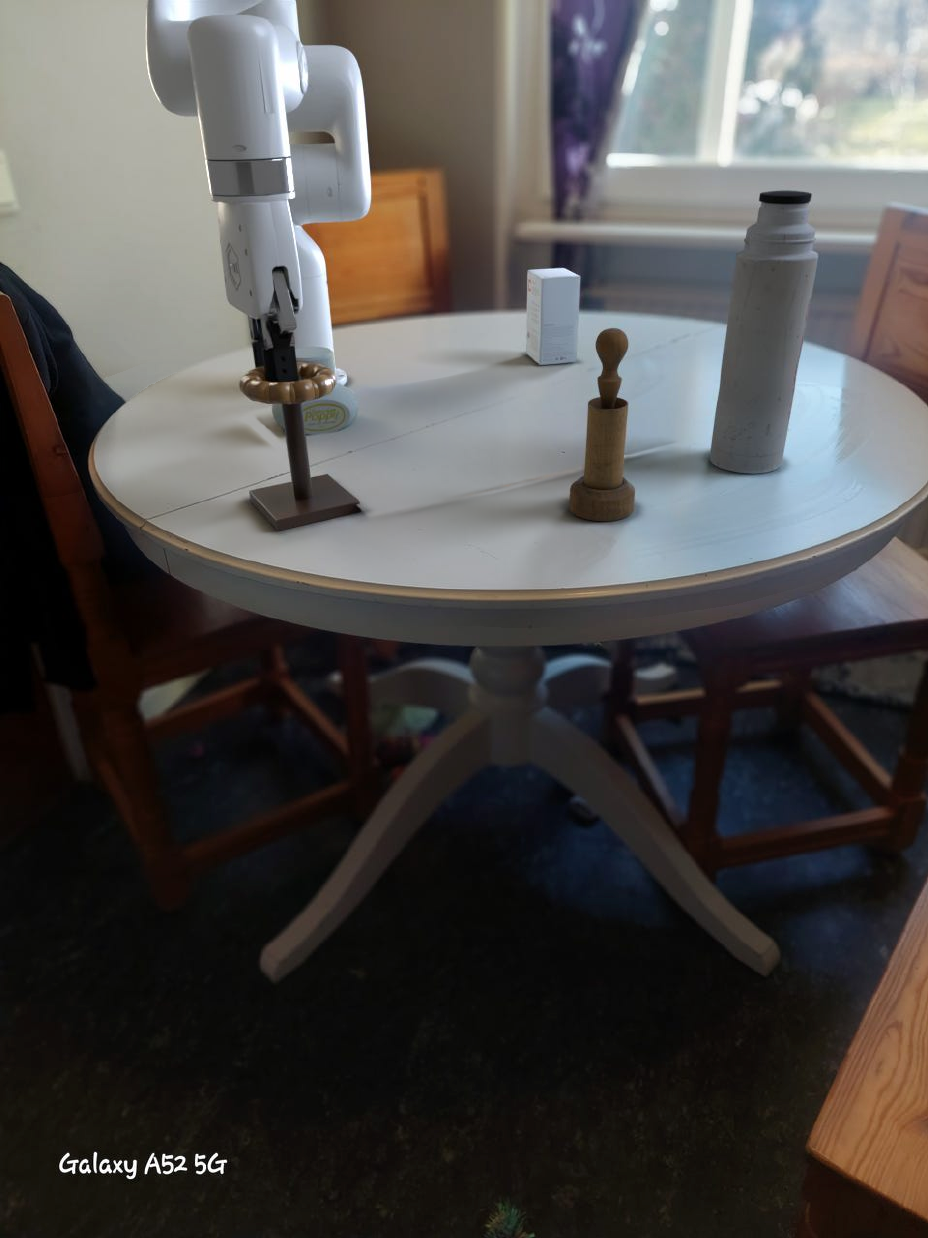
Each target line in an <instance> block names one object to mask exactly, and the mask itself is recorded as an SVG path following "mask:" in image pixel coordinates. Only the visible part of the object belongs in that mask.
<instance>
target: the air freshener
mask: <svg viewBox="0 0 928 1238" xmlns="http://www.w3.org/2000/svg"><path fill="white" fill-rule="evenodd" d="M295 353H296V362H309V363H315V364H322V365H324V366H326V367H327V368H329V369H331V370H332V371H333V372H334V373H335V368H336V362H335V363H334V358H335V353H334V354H333V352H332V351H331V350H330V349H328V348H323V347H305V348H298V349H295ZM335 374H336V373H335ZM302 408H303V416H304V425H305V433H306V436H317V435H323V434H331V433H336V432H339V431H342V430H344V429H346V428H348V427H349V426H350V425H352V423H353V422H354V421H355V420H356V418H357V416H358V413H359V410H360V404H359V400H358V398H357V396H356V395H355V393H354V392H353V391H352V390H351V389H350V388H349V387H347V386H346V385H345V384H344V385H342V384H340V383H338V382H336V385H335V387H334V389H333V391H332V392H331V393H330V394H328V395H326V396H323V397H321V398H319V399H316V400H313V401H308V402H302ZM271 414H272V416H273V419H274V420H275V422H276V424H277V425H279V426H280V428H282V429H283V430H285V427H284V420H283V412H282V405H281V404H271Z"/></svg>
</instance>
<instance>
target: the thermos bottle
mask: <svg viewBox="0 0 928 1238" xmlns="http://www.w3.org/2000/svg"><path fill="white" fill-rule="evenodd" d="M812 196H813V194H812V193H811V192H808V191H802V190H801V191H800V190H790V189H789V190H785V189H784V190H781V189H780V190H769V191H763V192H759V197H758V201H759V202H760V206H759V207H758V212H757V218H756V222H755V223H753V224H752V225H750V226H749V227H747V229H746V233H745V238H743V242H744V247H743V248H742V249H740V250H738V251H737V252H736V253H735V256H736V257H735V261H734V269H733V277H732V284H731V293H730V300H729V307H728V314H727V323H726V329H725V338H724V346H723V353H722V359H721V370H720V380H719V389H718V394H717V401H716V407H715V413H714V419H713V429H712V434H711V435H712V436H711V444H710V452H709V461H710V462H711V463H712V465H714V466H715V467H718V468H719V469H723V470H726V471H730V472H733V473H740V474H750V475H751V474H752V475H753V474H755V475H756V474H766V473H770V472H774V471H776V470H778V469H780V467H781V466H782V462H783V458H784V451H785V446H786V440H787V436H788V435H787V434H788V431H789V430H788V429H789V425H790V419H791V413H792V408H793V407H792V406H793V402H794V397H795V389H796V388H795V387H796V382H797V375H798V368H799V364H800V363H799V362H800V359H801V356H802V350H803V345H804V339H805V334H806V328H807V322H808V317H809V312H810V306H811V300H812V295H813V289H814V283H815V277H816V273H817V272H816V271H817V266H818V259H819V253H818V252H816V251H814V250H813V246H814V241H816V237H815V235H816V229H815V228H814V227H813V226H812V225H810V223H809V216H810V207H809V206H810V203H811V201H812Z"/></svg>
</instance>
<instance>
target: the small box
mask: <svg viewBox="0 0 928 1238" xmlns="http://www.w3.org/2000/svg"><path fill="white" fill-rule="evenodd" d="M580 293H581V275H578V273H577V274H576V273H575V272H573V271H570V270H569V269H567V268H565V267H555V268H539V269H528V270H527V275H526V321H525V322H526V326H525V328H526V329H525V331H526V333H525V354H527V355H528V356H529V357H530V358H531V359H532V360H534V362H536V363H537V364H538V365H539V366H545V365H557V364H558V365H559V364H567V363H576V362H578V345H579V343H578V342H579V322H580V321H579V320H580V319H579V318H580V298H581V297H580V296H581V294H580Z"/></svg>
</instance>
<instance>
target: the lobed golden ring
mask: <svg viewBox="0 0 928 1238" xmlns="http://www.w3.org/2000/svg"><path fill="white" fill-rule="evenodd" d="M297 370H298V378H299V381H294V382H266V378H265V371H264V366H261V367H258V368H255V367H254V368H252V369H249V370H248V371H247V372H245V374H244V375H243V376H242V377H241V378H240V380H239V384H238V387H239V390H240V392H241V393H242V395H244V396H245V397H246V398H247V399H249V400H250V401H253V402H256V403H262V404H267V405H273V404H296V403H302V402H308V401H313V400H316V399H319V398H321V397H323V396H326V395H328V394H330V393H331V392H332V391H333V389H334V387H335V385H336V382H337V376H336V374H335V373H334V372H333V371H332V370H331V369H329V368H327V367H326V366H324V365H322V364H315V363H309V362H297Z"/></svg>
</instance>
